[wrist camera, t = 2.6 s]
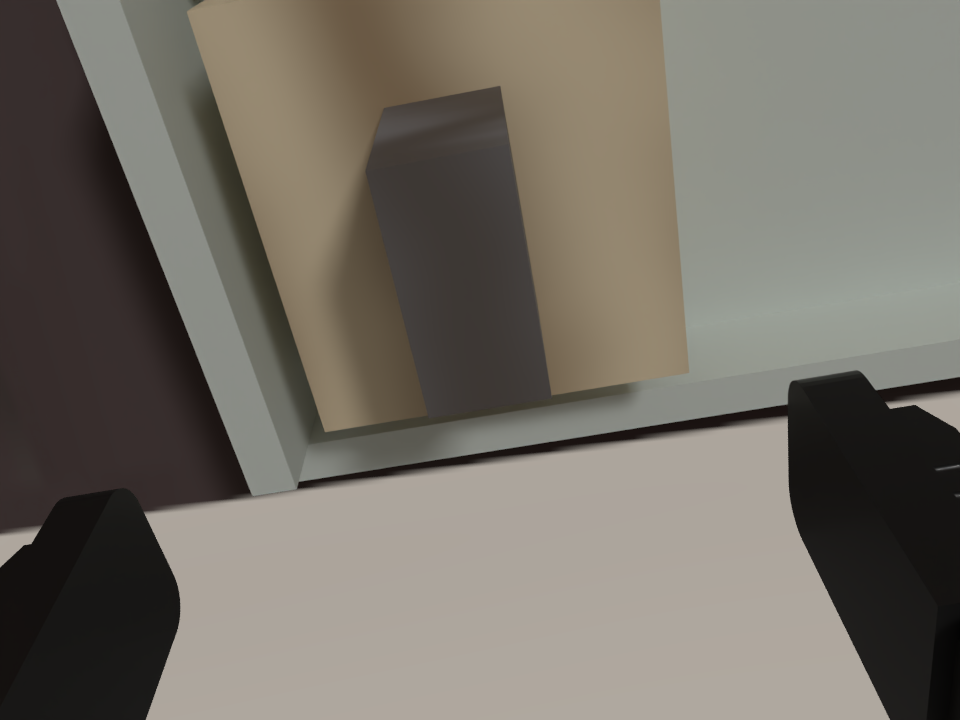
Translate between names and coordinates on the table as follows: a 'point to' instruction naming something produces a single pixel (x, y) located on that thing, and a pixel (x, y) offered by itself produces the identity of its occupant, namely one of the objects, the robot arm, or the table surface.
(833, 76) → the bay
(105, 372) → the table surface
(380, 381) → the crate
